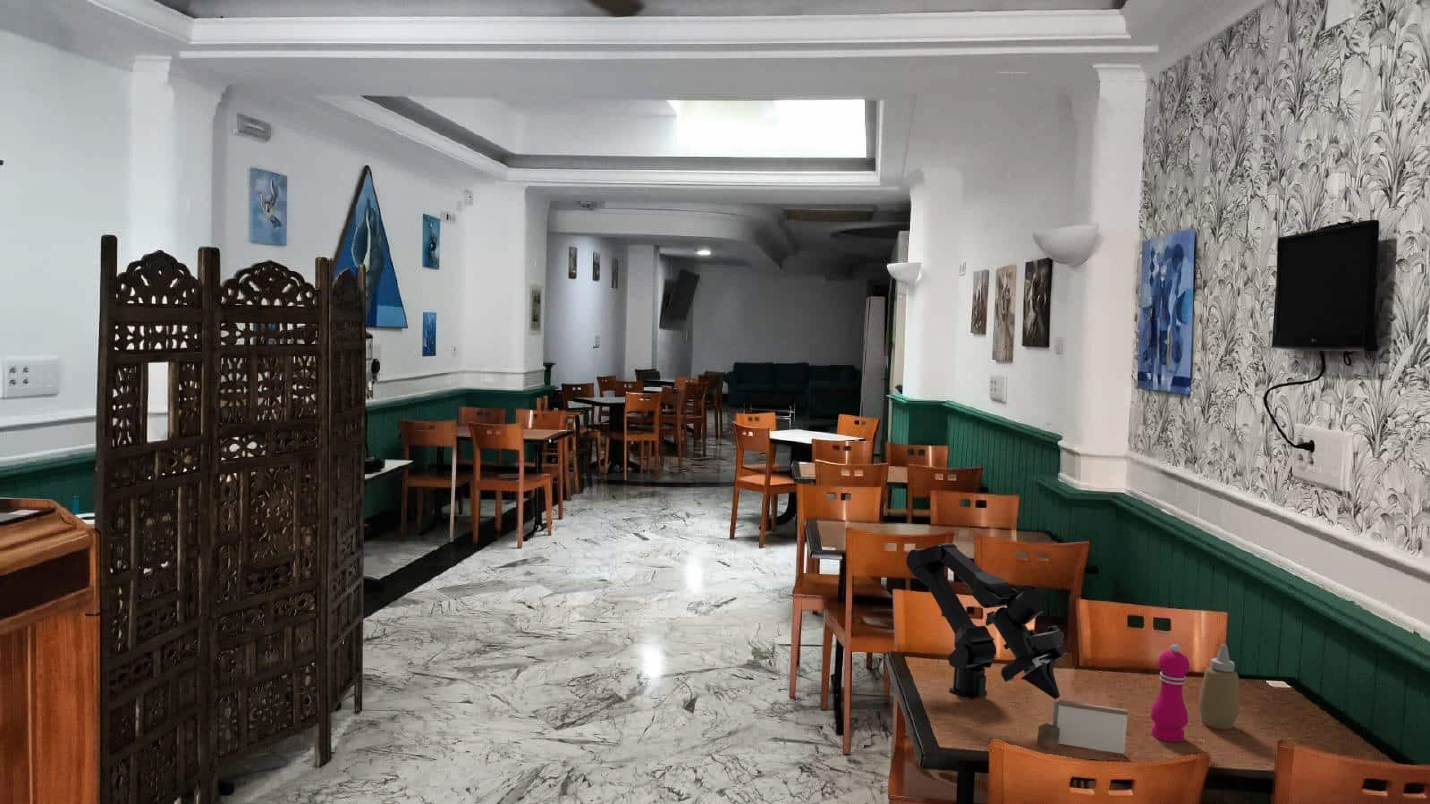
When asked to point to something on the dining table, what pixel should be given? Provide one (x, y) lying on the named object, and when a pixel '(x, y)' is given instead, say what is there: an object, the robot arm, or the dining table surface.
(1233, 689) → the squeeze bottle
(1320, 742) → the dining table surface
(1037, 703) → the dining table surface
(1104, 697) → the dining table surface
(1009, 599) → the robot arm
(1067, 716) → the gate
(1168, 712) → the pepper mill
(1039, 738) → the gate frame
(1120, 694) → the dining table surface
